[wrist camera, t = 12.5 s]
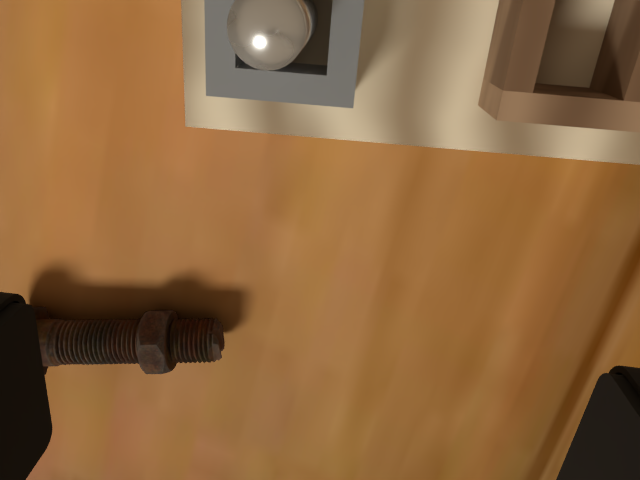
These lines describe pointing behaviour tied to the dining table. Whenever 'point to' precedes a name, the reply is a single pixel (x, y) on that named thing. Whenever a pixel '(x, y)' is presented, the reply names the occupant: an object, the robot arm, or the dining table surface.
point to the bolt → (129, 341)
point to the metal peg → (270, 30)
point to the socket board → (460, 79)
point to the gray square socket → (295, 78)
